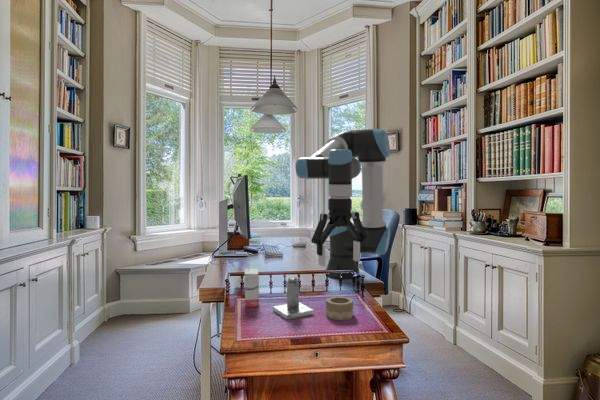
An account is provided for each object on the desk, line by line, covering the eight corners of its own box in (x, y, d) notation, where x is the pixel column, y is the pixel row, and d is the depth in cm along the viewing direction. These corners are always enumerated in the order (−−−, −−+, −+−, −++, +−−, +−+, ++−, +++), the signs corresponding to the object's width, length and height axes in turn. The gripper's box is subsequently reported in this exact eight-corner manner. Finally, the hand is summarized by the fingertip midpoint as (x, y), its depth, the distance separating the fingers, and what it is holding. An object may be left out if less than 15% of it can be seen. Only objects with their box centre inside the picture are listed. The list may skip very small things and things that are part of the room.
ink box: (258, 307, 149) (258, 273, 149) (244, 307, 149) (244, 274, 148) (259, 299, 158) (258, 268, 157) (245, 300, 158) (245, 268, 157)
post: (298, 306, 150) (298, 273, 149) (313, 314, 142) (313, 280, 141) (273, 310, 145) (272, 277, 145) (286, 319, 137) (286, 284, 136)
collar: (342, 309, 146) (342, 295, 146) (357, 316, 139) (357, 301, 139) (321, 313, 142) (322, 299, 142) (336, 321, 135) (336, 306, 135)
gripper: (363, 196, 147) (363, 257, 149) (300, 198, 135) (300, 264, 136) (377, 197, 141) (377, 261, 142) (312, 199, 129) (312, 269, 130)
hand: (339, 263), depth 139 cm, fingers open, 13 cm apart
